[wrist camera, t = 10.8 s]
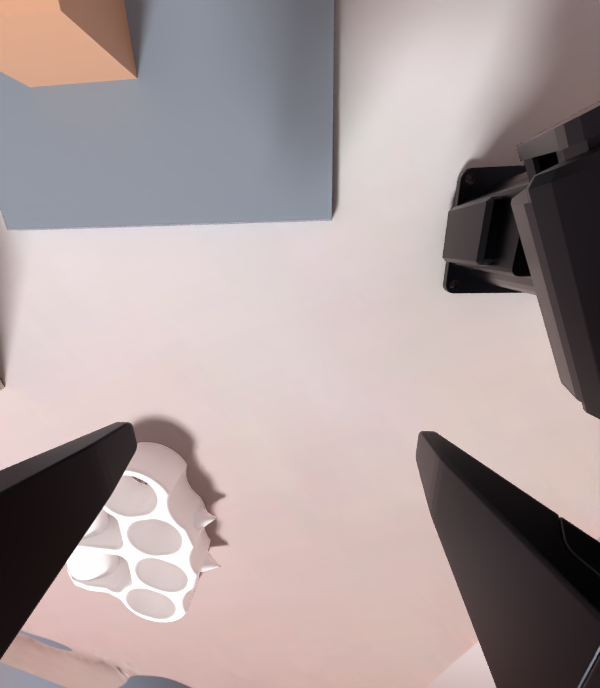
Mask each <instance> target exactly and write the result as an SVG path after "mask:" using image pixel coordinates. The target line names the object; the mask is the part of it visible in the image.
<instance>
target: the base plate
mask: <svg viewBox="0 0 600 688" xmlns="http://www.w3.org/2000/svg"><path fill="white" fill-rule="evenodd" d="M124 2H125V8H126V14H127V20H128V26H129V32H130V38H131V44H132V50H133V56H134V62H135V67H136V73H137V79H127V80H115V81H102V82H90V83H77V84H65V85H52V86H39V87H28V86H27V85H25V84H23V83H21V82H19V81H17V80H15V79H13V78H12V77H10V76H8V75H6V74H4V73H2V72H0V210H1V213H2V216H3V219H4V222H5V225H6V228H7V230H46V229H77V228H109V227H140V226H171V225H202V224H234V223H265V222H296V221H327V220H332V155H333V70H334V0H124Z"/></svg>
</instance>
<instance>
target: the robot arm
mask: <svg viewBox="0 0 600 688" xmlns="http://www.w3.org/2000/svg"><path fill="white" fill-rule="evenodd" d="M517 149H518V153H519V157H520V161H522V160H524V163H525V166H505V167H483V168H470V169H467V170H465V171H464V172H462V173H461V174H460V176H459V177H458V181H457V187H456V195H455V202H454V207H453V208H452V209H451V210H450V211H449V213H448V220H447V228H446V235H445V243H444V250H443V258H444V260H445V261H446V267H445V274H444V281H443V288H444V289H445V290H446V291H447V292H450V293H529V294H534V295H537V299H538V302H539V306H540V309H541V313H542V316H543V320H544V323H545V327H546V331H547V334H548V338H549V341H550V345H551V348H552V352H553V355H554V359H555V362H556V366H557V370H558V373H559V377H560V380H561V383H562V384H563V385H564V386H565V387H566V388H567V389H568V390H569V391H570V393H571V394H572V395H573V396H574V397H575V398H576V399H577V400H579V401H580V402H582V405H583V409H584V410H585V411H586V412H587V413H589V414H591V415H593V416H594V417H596V418H598V419H600V101H599V102H597V103H595V104H593V105H591V106H589V107H587V108H586V109H584V110H582V111H580V112H578V113H576V114H575V115H573V116H571V117H569V118H567V119H565V120H564V121H562V122H560V123H558V124H556V125H554V126H552V127H551V128H549V129H547V130H545V131H543V132H541V133H540V134H538V135H536V136H534V137H532V138H530V139H529V140H527V141H525V142H523V143H521V144H519V145H518V146H517ZM467 175H470V176H471V177H472V182H471V184H467V183H466V177H467ZM454 280H455V281H456V285H455V287H454V288H451V287H450V284H451V282H452V281H454ZM136 449H137V441H136V437H135V433H134V429H133V425H132V424H131V423H129V422H116V423H114V424H111V425H109V426H106V427H104V428H102V429H99V430H97V431H94V432H92V433H90V434H87V435H85V436H82V437H80V438H78V439H75V440H73V441H70V442H68V443H66V444H63V445H61V446H58V447H56V448H53V449H51V450H49V451H46V452H44V453H41V454H39V455H37V456H34V457H32V458H29V459H27V460H25V461H22V462H20V463H17V464H15V465H13V466H10V467H8V468H5V469H3V470H1V471H0V659H1V658H2V656H3V655H4V653H5V652H6V650H7V649H8V647H9V646H10V645H11V643H12V642H13V640H14V639H15V637H16V636H17V634H18V633H19V631H20V630H21V628H22V627H23V625H24V624H25V622H26V621H27V619H28V618H29V616H30V615H31V614H32V612H33V611H34V609H35V608H36V606H37V605H38V603H39V602H40V600H41V599H42V597H43V596H44V594H45V593H46V591H47V590H48V588H49V587H50V585H51V584H52V583H53V581H54V580H55V578H56V577H57V575H58V574H59V572H60V571H61V569H62V568H63V566H64V565H65V563H66V562H67V560H68V559H69V557H70V556H71V554H72V553H73V551H74V550H75V549H76V547H77V546H78V544H79V543H80V541H81V540H82V538H83V537H84V535H85V534H86V532H87V531H88V529H89V528H90V526H91V525H92V523H93V522H94V520H95V519H96V518H97V516H98V515H99V513H100V512H101V510H102V509H103V507H104V506H105V504H106V503H107V501H108V500H109V498H110V496H111V495H112V493H113V491H114V490H115V488H116V486H117V484H118V483H119V481H120V479H121V477H122V475H123V474H124V472H125V470H126V468H127V466H128V465H129V463H130V461H131V459H132V457H133V456H134V454H135V452H136ZM416 461H417V465H418V469H419V473H420V477H421V481H422V484H423V488H424V492H425V496H426V500H427V503H428V507H429V510H430V514H431V517H432V519H433V522H434V525H435V528H436V530H437V533H438V535H439V538H440V541H441V543H442V546H443V548H444V551H445V554H446V556H447V559H448V562H449V564H450V567H451V569H452V572H453V575H454V577H455V580H456V583H457V585H458V588H459V590H460V593H461V596H462V598H463V601H464V603H465V606H466V609H467V611H468V614H469V617H470V619H471V622H472V624H473V627H474V630H475V632H476V635H477V638H478V640H479V643H480V645H481V648H482V651H483V653H484V656H485V658H486V661H487V664H488V666H489V669H490V671H491V674H492V677H493V679H494V682H495V685H496V687H497V688H600V542H598V541H597V540H595V539H594V538H592V537H591V536H589V535H588V534H586V533H585V532H583V531H582V530H580V529H579V528H577V527H576V526H574V525H573V524H571V523H570V522H568V521H567V520H565V519H564V518H562V517H560V518H559V516H558V514H556V513H555V512H553V511H552V510H550V509H549V508H547V507H546V506H544V505H543V504H541V503H540V502H539V501H537V500H536V499H534V498H533V497H531V496H530V495H528V494H527V493H525V492H524V491H522V490H521V489H519V488H518V487H516V486H515V485H513V484H512V483H510V482H509V481H507V480H506V479H504V478H503V477H501V476H500V475H498V474H497V473H495V472H494V471H493V470H491V469H490V468H488V467H487V466H485V465H484V464H482V463H481V462H479V461H478V460H476V459H475V458H473V457H472V456H470V455H469V454H467V453H466V452H464V451H463V450H461V449H460V448H458V447H457V446H455V445H454V444H452V443H451V442H449V441H448V440H447V439H445V438H444V437H442V436H441V435H439V434H438V433H436V432H434V431H421V432H420V433H419V436H418V443H417V450H416Z"/></svg>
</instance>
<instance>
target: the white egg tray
mask: <svg viewBox="0 0 600 688" xmlns="http://www.w3.org/2000/svg"><path fill="white" fill-rule="evenodd" d="M186 469H187V464H186V462H185V461H184V460H183V458H182V457H181V456H180V455H179V454H177V453H176V452H175V451H173V450H172V449H170V448H168V447H166V446H164V445H161V444H158V443H153V442H139V443H137V449H136V452H135V454H134V456H133V457H132V459H131V461H130V463H129V465H128V466H127V468H126V470H125V472H124V474H123V475H122V477H121V479H120V481H119V483H118V484H117V486H116V488H115V490H114V491H113V493H112V495H111V496H110V498H109V500H108V501H107V503H106V504H105V506H104V507H103V509H102V510H101V512H100V513H99V515H98V516H97V518H96V519H95V520H94V522H93V523H92V525H91V526H90V528H89V529H88V531H87V532H86V534H85V535H84V537H83V538H82V540H81V541H80V543H79V544H78V546H77V547H76V549H75V550H74V551H73V553H72V554H71V556H70V557H69V559H68V560H67V562H66V563H67V566H68V569H67V571H68V573H69V575H70V577H71V579H72V581H73V583H74V585H77V586H79V587H82V588H84V589H87V590H91V591H99V592H107V593H110V594H112V595H113V596H115V597H117V598H119V599H121V600H122V602H123V603H124V604H125V606H126V607H127V608H128V609H129V610H131V611H132V612H133V613H135V614H136V615H138V616H140V617H142V618H145V619H148V620H151V621H156V622H171V621H175V620H178V619H180V618H181V617H183V616H184V615H185V613H186V612H187V610H188V608H189V605H190V603H191V600H192V597H193V595H194V592H195V589H196V587H197V584H198V581H199V579H200V576H199V574H200V572H204V571H207V570H211V569H214V568H217V567H221V566H220V565H219V564H218V563H217V562H216V560H215V559H214V558H213V557H212V556H211V554H210V553H209V552H208V549H209V546H210V542H211V540H210V539H209V537H208V536H207V534H206V531H205V526H206V525H208V524H209V523H210V522H212V521H213V520H215V519H216V517H215V516H213V515H211V514H210V513H208V512H207V509H206V507H205V505H204V502H203V500H202V498H201V497H200V496H199V495H197V494H196V493H195V492H194V491H193V489H192V488H191V487H190V485H189V483H188V480H187V477H186ZM132 476H134V477H137V478H139V479H141V480H143V481H145V482H146V483H148V484H149V485H146V484H143V483H140V482H138V481H137V480H135V479H134V478H133V477H132ZM108 513H109V514H108Z"/></svg>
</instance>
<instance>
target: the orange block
mask: <svg viewBox="0 0 600 688" xmlns="http://www.w3.org/2000/svg"><path fill="white" fill-rule="evenodd" d="M0 72H2V73H4V74H6V75H8V76H10V77H12V78H13V79H15V80H17V81H19V82H21V83H23V84H25V85H27V86H28V87H39V86H52V85H65V84H77V83H90V82H102V81H115V80H127V79H137V73H136V67H135V62H134V56H133V50H132V44H131V38H130V32H129V26H128V20H127V14H126V8H125V2H124V0H0Z"/></svg>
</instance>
